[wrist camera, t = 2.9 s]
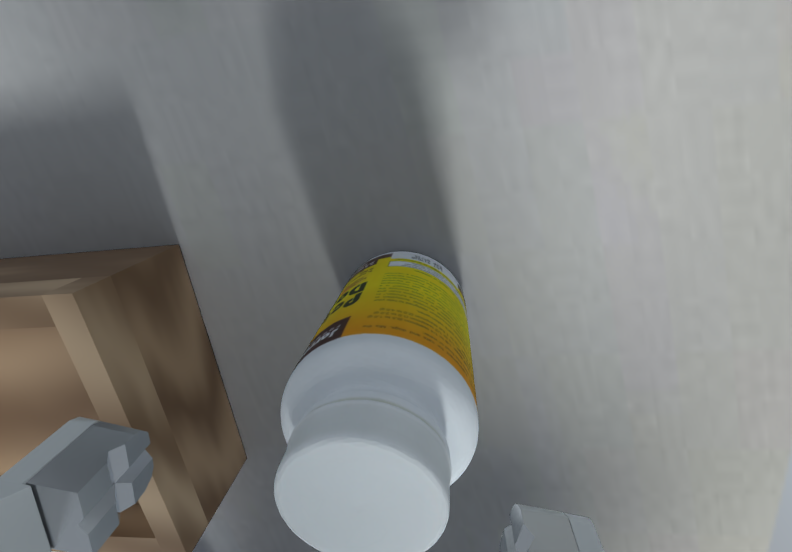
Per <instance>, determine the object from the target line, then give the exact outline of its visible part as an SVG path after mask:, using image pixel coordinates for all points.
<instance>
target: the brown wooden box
mask: <svg viewBox="0 0 792 552" xmlns="http://www.w3.org/2000/svg"><path fill="white" fill-rule="evenodd" d="M77 417H83V418H88V419H93V420H98V421H103V422H107V423H111V424H116V425H120V426H125V427H129V428H133V429H138V430H142V431H146V432H148V433H149V438H150V444H149V445H148V447H147V448H146V449H145V450H146V451H147V452H148V453H149V454H150V456H151V457H152V458H153V466H154V467H153V472H152V477H151V479H150V482H149V484H148V486H147V488H146V490H145V492H144V493H143V494H142V496H141V497H140V498H139V500H138V501H137V502H136V504H134V505H132V506H131V507H129V508H127V509H125V510H124V511H122V512H120V523H119V525H118V526H117V528H116V529H115V530H114V531H113V533H112V534H111V535H110V536H109V538H108V539H107V540H106V542H105V543H104V544H103V545H102V547H101V548H100V549H99V550H98V552H192V551H193V549H194V548H195V546H196V544H197V543H198V541H199V539H200V537H201V536H202V534H203V532H204V531H205V529H206V527H207V526H208V524H209V522H210V520H211V519H212V517H213V515H214V514H215V512H216V510H217V509H218V507H219V505H220V503H221V502H222V500H223V498H224V497H225V495H226V493H227V492H228V490H229V488H230V486H231V485H232V483H233V481H234V480H235V478H236V476H237V474H238V473H239V471H240V469H241V468H242V466H243V464H244V463H245V461H246V459H247V457H246V454H245V451H244V448H243V445H242V442H241V438H240V435H239V432H238V429H237V426H236V423H235V420H234V417H233V413H232V410H231V407H230V404H229V401H228V398H227V395H226V391H225V388H224V385H223V382H222V379H221V376H220V373H219V370H218V366H217V363H216V360H215V357H214V354H213V351H212V348H211V344H210V341H209V338H208V335H207V332H206V329H205V326H204V323H203V319H202V316H201V313H200V310H199V307H198V304H197V301H196V297H195V294H194V291H193V288H192V285H191V282H190V279H189V275H188V272H187V269H186V266H185V263H184V260H183V257H182V254H181V250H180V247H179V245H168V246H155V247H143V248H130V249H118V250H105V251H93V252H81V253H68V254H56V255H43V256H31V257H18V258H6V259H0V476H2V475H3V474H4V473H5V472H7V471H8V470H9V469H10V468H11V467H13V466H14V465H15V464H16V463H18V462H19V461H20V460H21V459H23V458H24V457H25V456H26V455H27V454H29V453H30V452H31V451H32V450H34V449H35V448H36V447H37V446H39V445H40V444H41V443H42V442H43V441H45V440H46V439H47V438H48V437H50V436H51V435H52V434H53V433H55V432H56V431H57V430H58V429H59V428H61V427H62V426H63V425H64V424H66V423H67V422H68V421H69V420H72V419H75V418H77ZM51 550H52V551H57V552H66V551H60V550H54V549H51Z"/></svg>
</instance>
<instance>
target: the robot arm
mask: <svg viewBox="0 0 792 552" xmlns="http://www.w3.org/2000/svg"><path fill="white" fill-rule="evenodd" d="M149 444H150V438H149V433H148V432H146V431H142V430H138V429H133V428H129V427H125V426H120V425H116V424H111V423H107V422H103V421H98V420H93V419H88V418H83V417H77V418H75V419H72V420H69V421H68V422H67V423H66V424H64V425H63V426H62V427H61V428H59V429H58V430H57V431H56V432H55V433H53V434H52V435H51V436H50V437H48V438H47V439H46V440H45V441H43V442H42V443H41V444H40V445H39V446H37V447H36V448H35V449H34V450H32V451H31V452H30V453H29V454H27V455H26V456H25V457H24V458H23V459H21V460H20V461H19V462H18V463H16V464H15V465H14V466H13V467H11V468H10V469H9V470H8V471H7V472H5V473H4V474H3V475H2V476H0V552H51V551H52V550H51V549H54V550H60V551H66V552H98V550H99V549H100V548H101V547H102V545H103V544H104V543H105V542H106V540H107V539H108V538H109V536H110V535H111V534H112V533H113V531H114V530H115V529H116V528H117V526H118V525H119V523H120V512H122V511H124V510H125V509H127V508H129V507H131V506H132V505H134V504H136V502H137V501H138V500H139V498H140V497H141V496H142V494H143V493H144V492H145V490H146V488H147V486H148V484H149V482H150V479H151V477H152V472H153V467H154V466H153V458H152V457H151V456H150V454H149V453H148V452H147V451H146V450H145V449H146V448H147V447H148V445H149ZM510 520H511V525H510V526H508V527H506V528H504V531H503V534H502V537H501V541H500V550H499V552H604V550H603V547H602V545H601V542H600V540H599V537H598V534H597V532H596V529H595V527H594V524H593V522H592V521H591V520H590V519H589V518H588V517H583V516H578V515H573V514H568V513H562V512H561V511H555V510H550V509H544V508H539V507H533V506H528V505H522V504H517V503H516V504H515V505H514V506H513V507H512V510H511V512H510Z"/></svg>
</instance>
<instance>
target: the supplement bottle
mask: <svg viewBox="0 0 792 552" xmlns="http://www.w3.org/2000/svg"><path fill="white" fill-rule="evenodd" d="M280 414H281V425H282V431H283V434H284V437H285V440H286V443H287V449H286V452H285V454H284V456H283V458H282V460H281V463H280V465H279V467H278V470H277V472H276V476H275V481H274V497H275V502H276V505H277V507H278V510H279V513H280V515H281V516H282V518H283V519H284V521H285V522H286V524H287V525H288V527H289V528H290V529H291V530H292V531H293V532H294V533H295V534H296V535H297V536H298V537H299V538H300V539H302V540H303V541H304V542H306V543H307V544H309V545H310V546H312V547H313V548H315V549H317V550H319V551H321V552H425V551H426V550H428V549H429V548H430V547H431V546H433V545H434V544H435V543H436V542H437V540H438V539H439V538H440V536H441V535H442V533H443V532H444V530H445V528H446V525H447V522H448V518H449V510H450V485H452V484H453V483H454V482H455V481H456V480H457V479H458V478H459V477H460V476H461V475H462V473H463V472H464V471H465V470H466V468H467V467H468V465H469V464H470V462H471V460H472V457H473V455H474V453H475V449H476V446H477V442H478V433H479V423H478V410H477V402H476V393H475V384H474V375H473V366H472V357H471V348H470V339H469V331H468V322H467V312H466V305H465V299H464V296H463V292H462V290H461V287H460V285H459V283H458V282H457V280H456V279H455V277H454V276H453V275H452V274H451V272H450V271H449V270H448V269H446V268H445V267H444V266H443V265H442V264H440V263H439V262H437V261H435V260H434V259H432V258H430V257H427V256H425V255H422V254H419V253H414V252H406V251H397V252H389V253H385V254H382V255H379V256H376V257H374V258H372V259H370V260H369V261H367V262H366V263H364V264H363V265H362V266H361V267H359V268H358V269H357V271H356V272H355V273H354V274H353V275H352V277H351V278H350V280H349V281H348V283H347V284H346V286H345V287H344V289H343V291H342V292H341V294H340V296H339V297H338V299H337V300H336V302H335V304H334V305H333V307H332V309H331V310H330V312H329V314H328V315H327V317H326V319H325V320H324V322H323V323H322V325H321V327H320V328H319V330H318V331H317V333H316V335H315V336H314V338H313V340H312V341H311V343H310V345H309V346H308V348H307V349H306V351H305V353H304V354H303V356H302V358H301V359H300V361H299V362H298V364H297V365H296V367H295V369H294V371H293V372H292V374H291V376H290V378H289V380H288V382H287V385H286V387H285V390H284V393H283V397H282V401H281V410H280Z"/></svg>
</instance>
